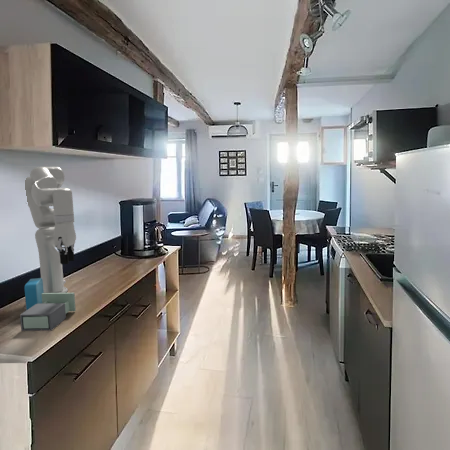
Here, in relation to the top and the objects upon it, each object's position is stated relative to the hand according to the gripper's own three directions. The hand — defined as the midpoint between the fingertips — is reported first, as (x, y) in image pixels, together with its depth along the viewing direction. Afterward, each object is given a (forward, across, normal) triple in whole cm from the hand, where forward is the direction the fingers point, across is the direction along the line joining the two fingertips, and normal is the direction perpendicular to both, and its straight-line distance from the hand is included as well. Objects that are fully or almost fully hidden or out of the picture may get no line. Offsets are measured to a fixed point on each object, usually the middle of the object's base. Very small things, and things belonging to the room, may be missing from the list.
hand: (67, 261), depth 162 cm
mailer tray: (+19, +16, -2) cm, 25 cm away
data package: (+20, +2, -14) cm, 24 cm away
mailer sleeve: (+19, +19, -2) cm, 27 cm away
